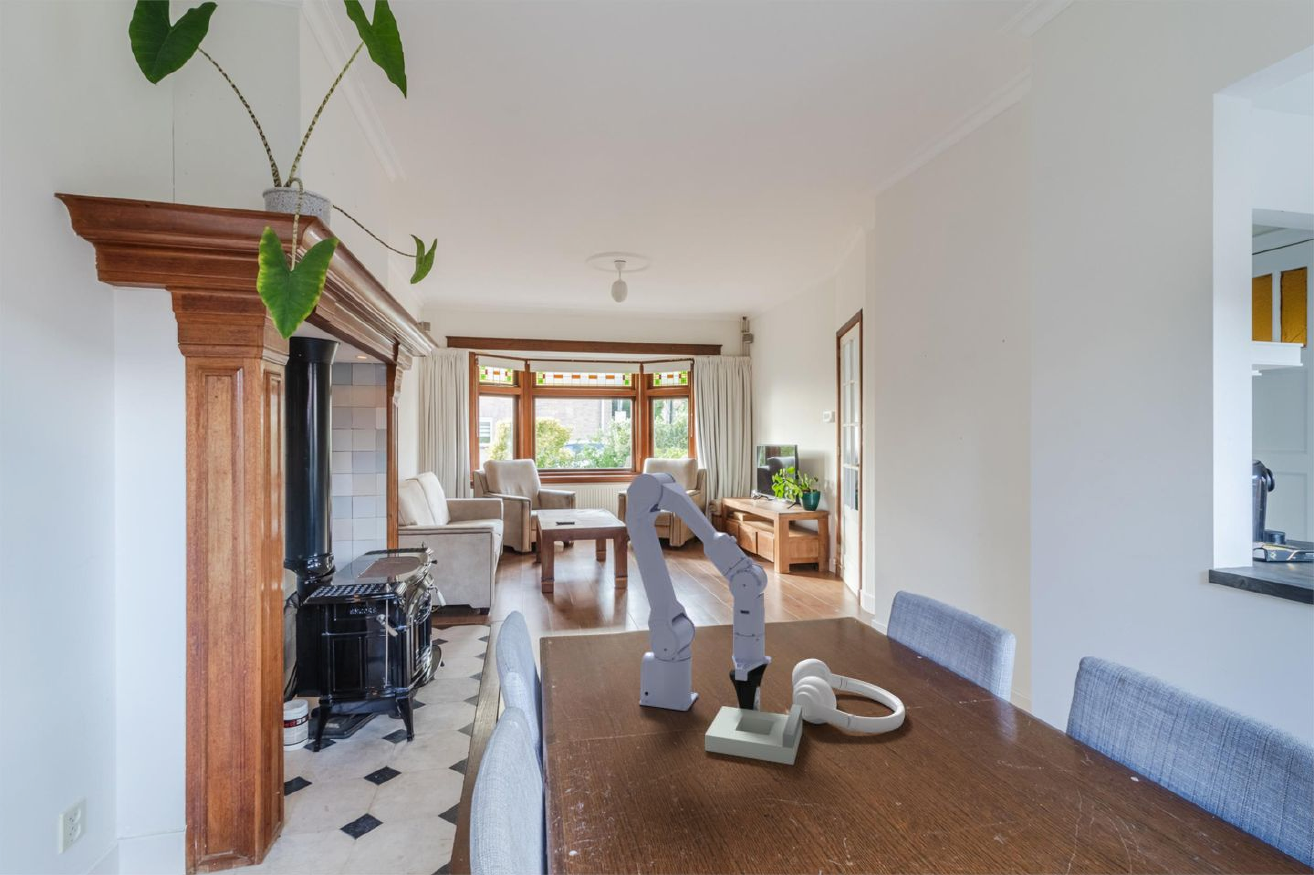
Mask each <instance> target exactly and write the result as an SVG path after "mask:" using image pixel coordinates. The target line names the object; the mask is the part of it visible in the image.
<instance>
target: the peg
mask: <svg viewBox="0 0 1314 875" xmlns="http://www.w3.org/2000/svg"><path fill="white" fill-rule="evenodd" d="M737 708H740V707H739V703H738V702H737ZM753 710H754V711H761V686H757V690H756V695H755V702H754V708H753Z"/></svg>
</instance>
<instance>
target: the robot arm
mask: <svg viewBox="0 0 1314 875" xmlns="http://www.w3.org/2000/svg"><path fill="white" fill-rule="evenodd" d="M626 494H627V503H626V511H625V517H624V522H625V527H626V530H627V533H628V536H629V539H630V543H631V547H632V550H633V554H634V557H635V560H636V563H637V568H638V570H639V574H640V577H641V581H642V583H643V584H642V585H643V588H644V591H645V593H646V598H647V601H648V604H649V607H650V611H649V615H648V620H647V625H648V630H649V634H648V644H649V648H650V650H651V651H646V652H645V653H644V655H643V657H642V658H641V664H640V700H639V702H638V705H641V706H647V707H655V708H663V709H668V710H675V711H683V712H686V711H688V710H689V708H691V706H692V704H693V703H694V702H695V700H696V699H697V698H698V697H699V694H698V692H692V650H691V644H692V643H693V641H694V639H695V637H696V632H697V631H696V626H695V624H694V622H693V620H692V619H691V618H690V617H689V616H688V614H687V612H686V609H685V606H684V605H683V604H682V603H680V602H679V601H678V599H677V596H676V592H675V589H674V585H673V583H672V579H671V577H670V573H669V569H668V566H667V563H666V559H665V556H664V553H663V550H662V547H661V544H660V540H659V536H658V533H657V530H656V526H655V521H656V520H657V518H658V516H659V515H660V513H661V511H664V512H665V511H666V512H670V513H673V514H675V515H677V517H679V519H680V520H681V521H682V522H683V523H684V525H686V526H687V527H688V529H690V531H692V533H693V534H694V535H695V536H696V537H697V538H698V539H699V540H700V541H701V543H702V544H703V553H704V555H705V556H706V557H707V559H708V560H709V561H710V562H711V563H712V565H713V566H714V567H715V568H716V570H717V571H718V572H719V573H720V574H721V575H722V576H723V577H724V578H725V580H727V581H728V582H729V583H728V590H729V593H730V594H731V595H732V596H733V607H732V609H733V612H732V614H733V616H732V621H733V622H732V625H733V626H732V628H733V630H732V633H733V634H732V636H733V637H732V644H733V646H732V652H733V654H731V655H732V656H731V660H732V662H733V665H734V667H735V668H734V669H731V670H730V671H729V673H728V674H729V675H728V676H729V680H731V682H732V685H733V687H734V689H735V693H736V697H737V704H738V703H739V707H740V709H747V710H753V708H754V702H755V695H756V690H757V686H760V687H761V685H762V681H763V680H762V679H763V677H764V674H765V671H766V669H767V667H768V665H769V664H771V663H772V657H771V656H769V655H765V654H766V653H765V651H766V648H765V645H766V642H765V641H766V640H765V639H766V638H765V637H766V636H765V633H766V632H765V630H766V627H765V623H766V622H765V621H766V620H765V618H766V617H765V616H766V614H765V610H766V609H765V593H764V590H765V589H766V587H767V585H768V575H767V573H766V571H765V569H764V567H763V566H762V565H761V564H758V563H756V562H755V561H754V559H753V558H752V557H751V556H750V557H748V556H747V555H746V553H745V552H744V551H743V550H742V549H741V548H740V547H739V545H738V544H737V542H738V539H737V538H736V537H735V536H734V535H732V536H730V535H729V534H728V533H727V532H720V531H717V530H716V529H715V527H714V525H712V523H711V522H710V521H709V519H708V518H707V516H705V515H704V513H703V512H702V510H701V509H700V508H699V507H698V506H697V504H696V503H695V502H694V500H693V499H692V498H691V497H690V495H689V494H688V493H687V491H686V489H685V488H684V486H683V485H682V484H681V483H680V482H678V481H677V480H676V479H675V477H674V475H673V474H671V473H669V472H667V471H658V472H655V473H653V472H652V473H648V472H647V473H646V472H645V473H643V472H642V473H640V474H638V475H636V476H635V477H634V479H632V481H631V483H630V485H628V488H627V489H626Z"/></svg>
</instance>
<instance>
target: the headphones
mask: <svg viewBox="0 0 1314 875" xmlns="http://www.w3.org/2000/svg"><path fill="white" fill-rule="evenodd" d="M791 675H792V676H791V677H792V678H791V681H792V688H793V691H792V705H793V704H795V705H802V720H805V721H806V722H807V723H811V724H815V725H822V724H825V723H830V724H832V725H835V726H838V727H839V728H840V727H841V728H843V729H845V731H850V732H851V731H854V732H860V733H870V734H873V733H874V734H875V733H886V732H891V731H894V730H896V729H899V727H901V726H902V724H903V723H904V719H905V716H906V710H905V705H904V704H903V701H902V700H901V699H899V697H898V696H896V695H894V693H893V694H892V693H891V692H889V691H888V690H885V689H883V688H882V687H879V686H877V685H875V684H872V683H868V682H867V681H863V680H859V679H856V678H851V677H847V676H846V677H845V676H843V675H838V674H834V673H832V672H831V670H830V668H829V667H828V665H827V664H826V663H825V662H824V661H822V660H819V659H818V658H817V659H816V658H807V659H804V660H802V661H799V662H798V663H797V664H796V665H795V666H794V668H793V670H792V674H791ZM833 689H837V690H838V691H845V692H850V693H855V694H859V695H862V696H865V697H867V698H870V699H873V700H875V701H877V702H879V703H881V704H883V705H885V706H887V707H888V708H890V709H891V710H893V712H894V713H892V714H890V715H887V716H881V717H867V716H866V717H865V716H858V715H856V714H850V713H847V712H844V711H841V710H839V709H837V698H836V695H835V693H834V690H833Z"/></svg>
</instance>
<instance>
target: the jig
mask: <svg viewBox="0 0 1314 875" xmlns="http://www.w3.org/2000/svg"><path fill="white" fill-rule="evenodd" d="M802 734H803V718H802V705H795V704H793V703H792V705H791V708H790V711H789V713H788V714H781V713H776V712H769V711H768V712H767V711H761V710H760V711H754V710H747V709H740V708H738V707H733V706H731V707H730V706H726V705H725V706H724V705H722V706H721V707H720V710H719V711H718V713H717V714H716V716H715V717H714V719H713V721H712V723H711V724H710V726H709V727H708V729H707V731H706V732H705V734H704V751H706V752H707V751H708V752H711V753H712V752H713V753H719V754H725V755H730V756H738V757H742V758H750V759H755V760H760V761H768V762H773V763H780V764H785V765H791V766H793V765H794V764H795V761H796V756H797V753H798V749H799V745H800V741H801V737H802Z"/></svg>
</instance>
